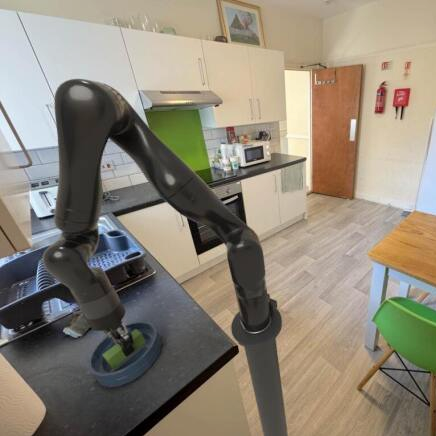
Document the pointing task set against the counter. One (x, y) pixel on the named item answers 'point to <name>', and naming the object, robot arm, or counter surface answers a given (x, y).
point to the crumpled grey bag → (77, 325)
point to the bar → (116, 354)
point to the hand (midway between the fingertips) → (126, 350)
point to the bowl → (132, 364)
